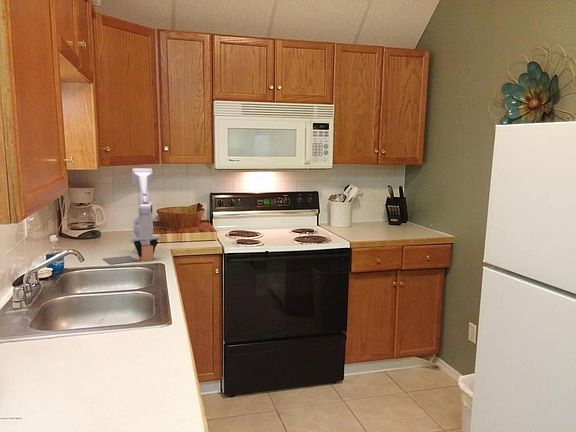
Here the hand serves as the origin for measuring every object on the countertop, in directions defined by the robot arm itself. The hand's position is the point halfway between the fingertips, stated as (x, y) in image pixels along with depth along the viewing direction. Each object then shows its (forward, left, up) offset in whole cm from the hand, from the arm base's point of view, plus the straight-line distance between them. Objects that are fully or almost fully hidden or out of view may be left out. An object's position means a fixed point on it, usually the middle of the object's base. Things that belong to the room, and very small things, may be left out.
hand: (145, 255), depth 222 cm
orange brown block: (0, 0, -2) cm, 2 cm away
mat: (-4, -11, -2) cm, 12 cm away
